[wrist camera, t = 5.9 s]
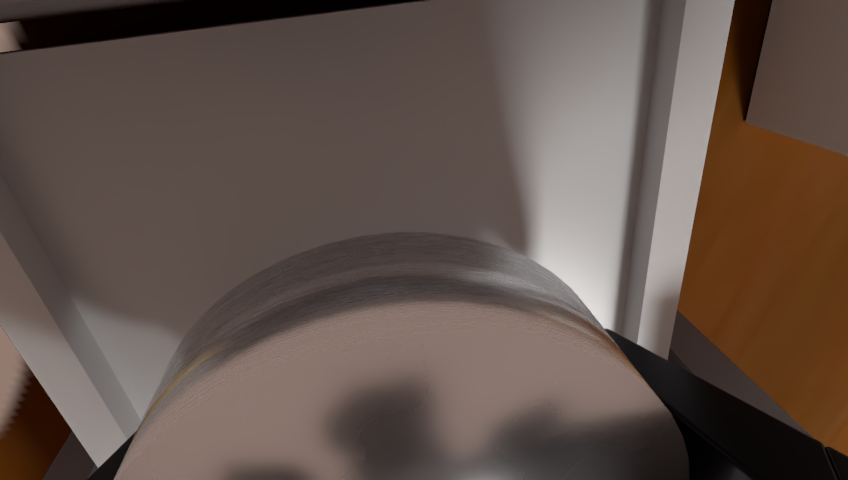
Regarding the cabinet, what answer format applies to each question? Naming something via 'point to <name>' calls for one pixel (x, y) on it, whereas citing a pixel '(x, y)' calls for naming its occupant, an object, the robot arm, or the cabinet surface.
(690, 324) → the housing
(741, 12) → the cabinet surface
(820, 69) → the block
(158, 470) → the disc
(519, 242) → the tray
